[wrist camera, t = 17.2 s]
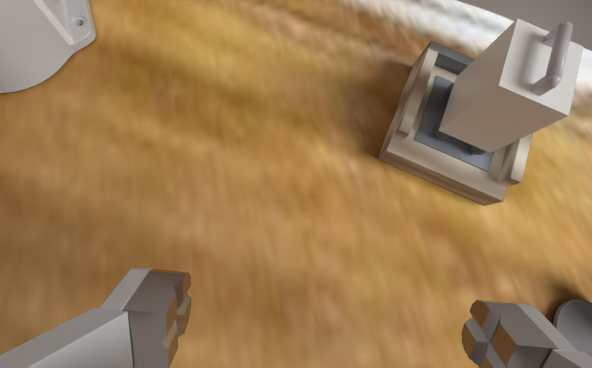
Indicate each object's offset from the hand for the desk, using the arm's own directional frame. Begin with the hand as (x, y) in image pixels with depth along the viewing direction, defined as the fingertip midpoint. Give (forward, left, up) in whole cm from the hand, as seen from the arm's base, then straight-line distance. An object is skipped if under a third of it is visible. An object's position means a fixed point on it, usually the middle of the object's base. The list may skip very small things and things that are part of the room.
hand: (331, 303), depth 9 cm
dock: (-14, +22, -26) cm, 37 cm away
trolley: (-14, +22, -22) cm, 35 cm away
